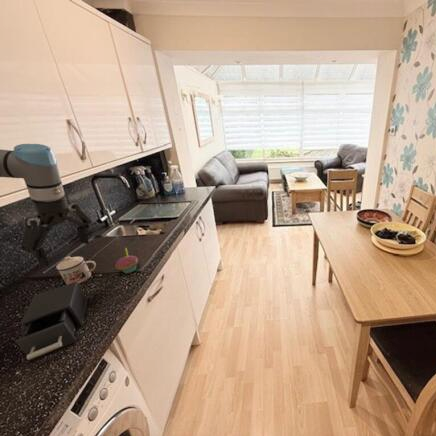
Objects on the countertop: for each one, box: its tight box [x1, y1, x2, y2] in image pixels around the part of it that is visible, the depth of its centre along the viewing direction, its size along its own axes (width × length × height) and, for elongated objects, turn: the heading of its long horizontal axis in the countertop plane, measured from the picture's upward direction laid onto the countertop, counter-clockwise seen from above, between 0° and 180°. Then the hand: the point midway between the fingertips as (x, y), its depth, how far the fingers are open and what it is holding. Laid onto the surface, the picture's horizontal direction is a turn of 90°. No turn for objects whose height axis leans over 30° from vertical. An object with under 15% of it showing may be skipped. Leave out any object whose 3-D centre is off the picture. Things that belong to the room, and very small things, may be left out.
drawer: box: [15, 309, 78, 361], centre depth 73 cm, size 17×10×8 cm, turn 33°
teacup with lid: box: [55, 255, 97, 285], centre depth 102 cm, size 12×9×12 cm
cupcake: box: [114, 247, 139, 274], centre depth 105 cm, size 9×8×12 cm
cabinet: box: [19, 282, 88, 330], centre depth 81 cm, size 15×12×10 cm
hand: (66, 252), depth 82 cm, fingers open, 13 cm apart
